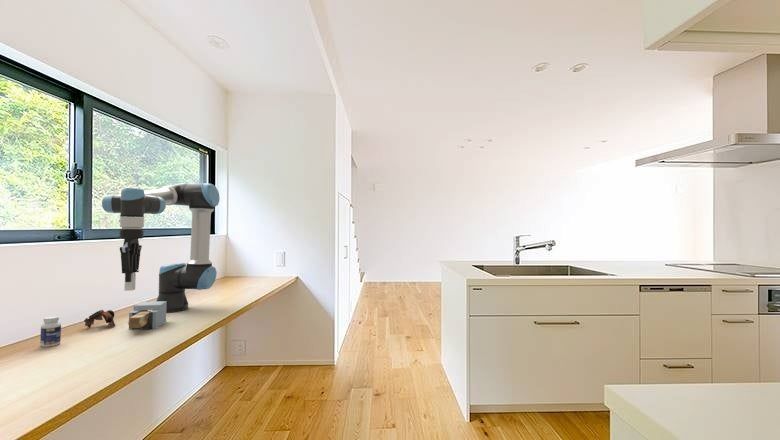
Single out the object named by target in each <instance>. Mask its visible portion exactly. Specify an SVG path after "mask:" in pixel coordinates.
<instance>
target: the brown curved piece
mask: <svg viewBox="0 0 780 440" xmlns="http://www.w3.org/2000/svg"><path fill="white" fill-rule="evenodd" d="M114 318H115V312H114V311H113V310H111V309H109V310H106V311H104V309H100V310H98V311H96V312H94V313H92V314H91V315H89V316H88V317H86V318H85V319H84V320H83V322H84V326H85V327H88V328H91V327H92V325H95V324H94V322H95V321H103V320H104V321H105V324H107V325H108V326H109V329H112V328H114V327H115V326H116V323H115V321H114Z"/></svg>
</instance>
